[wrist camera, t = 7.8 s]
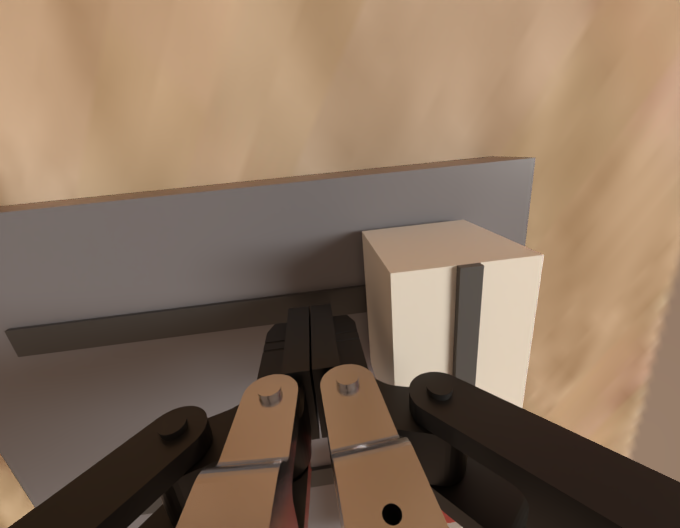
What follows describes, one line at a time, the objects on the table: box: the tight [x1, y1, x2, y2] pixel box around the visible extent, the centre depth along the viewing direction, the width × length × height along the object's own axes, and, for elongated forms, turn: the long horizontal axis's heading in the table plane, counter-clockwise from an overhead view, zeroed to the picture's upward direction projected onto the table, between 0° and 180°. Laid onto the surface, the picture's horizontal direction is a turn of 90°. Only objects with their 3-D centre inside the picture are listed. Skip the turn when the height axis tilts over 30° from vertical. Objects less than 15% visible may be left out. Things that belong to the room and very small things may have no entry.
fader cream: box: [362, 220, 544, 408], centre depth 11 cm, size 6×4×5 cm, turn 5°
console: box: [0, 156, 535, 528], centre depth 16 cm, size 20×24×3 cm
